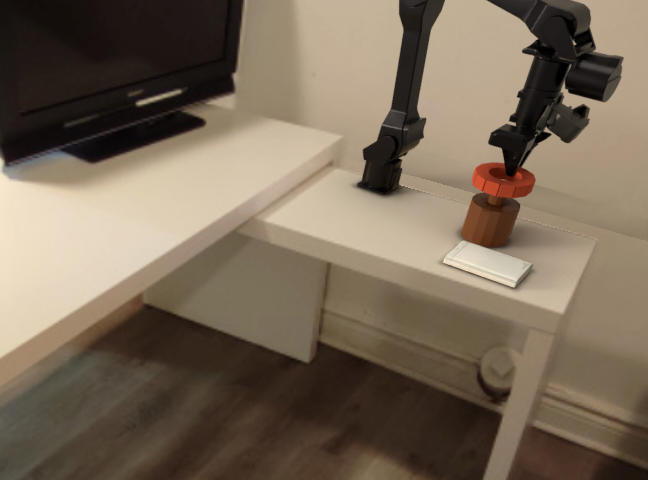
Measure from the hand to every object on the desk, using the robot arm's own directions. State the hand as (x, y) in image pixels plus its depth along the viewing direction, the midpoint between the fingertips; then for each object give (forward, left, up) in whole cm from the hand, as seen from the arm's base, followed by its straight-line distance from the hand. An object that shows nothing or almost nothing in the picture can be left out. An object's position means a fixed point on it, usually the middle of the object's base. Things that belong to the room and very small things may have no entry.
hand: (512, 173), depth 142 cm
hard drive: (+5, -14, -11) cm, 19 cm away
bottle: (0, -4, -11) cm, 12 cm away
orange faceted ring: (0, -4, -1) cm, 4 cm away
